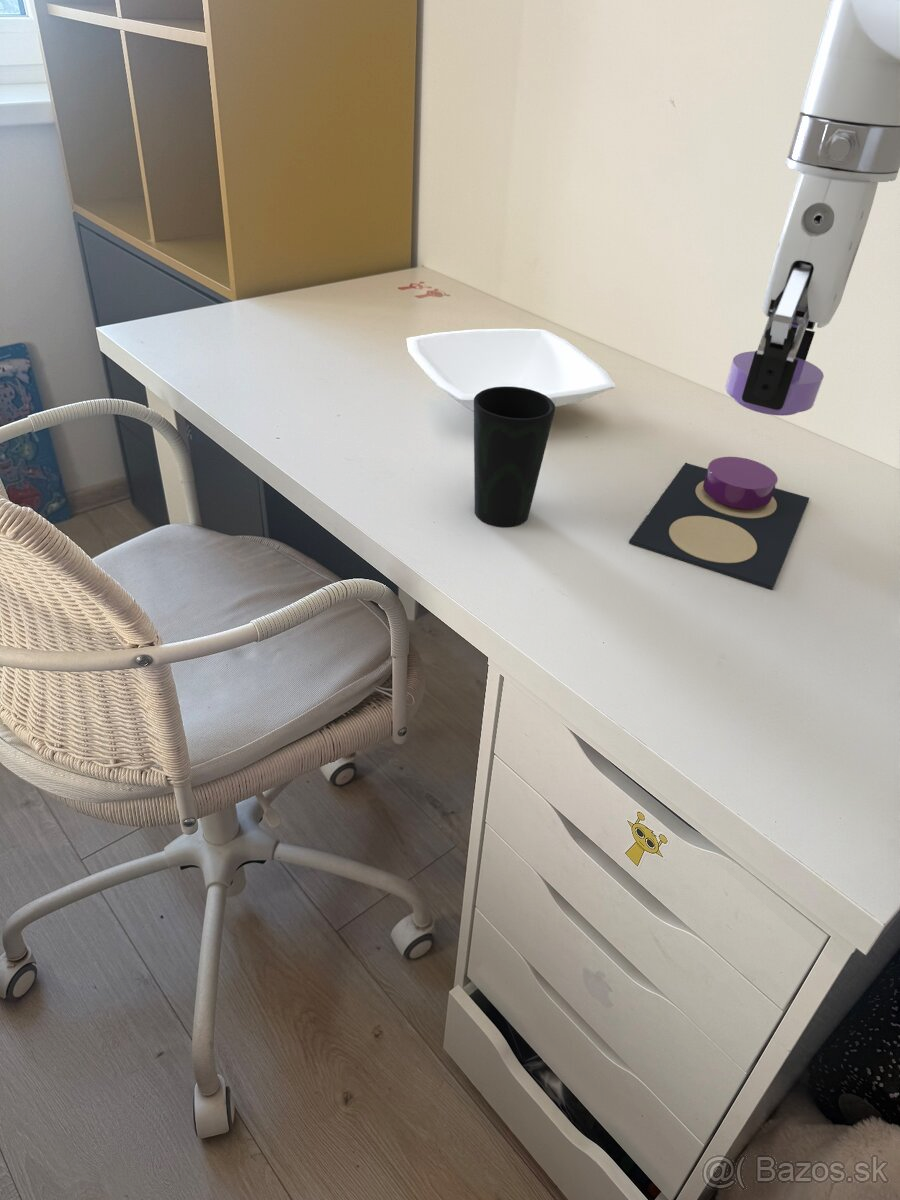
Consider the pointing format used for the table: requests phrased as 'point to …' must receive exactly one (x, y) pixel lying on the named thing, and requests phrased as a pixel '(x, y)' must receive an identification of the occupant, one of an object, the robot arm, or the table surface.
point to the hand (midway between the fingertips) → (771, 387)
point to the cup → (508, 452)
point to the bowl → (508, 364)
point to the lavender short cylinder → (799, 392)
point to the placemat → (721, 530)
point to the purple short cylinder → (740, 483)
